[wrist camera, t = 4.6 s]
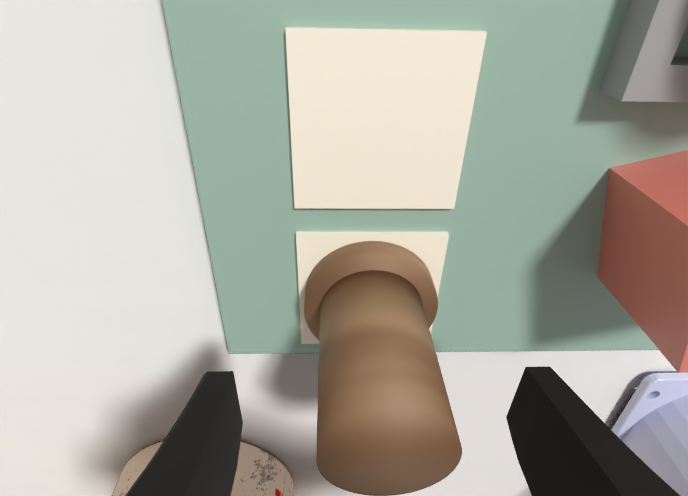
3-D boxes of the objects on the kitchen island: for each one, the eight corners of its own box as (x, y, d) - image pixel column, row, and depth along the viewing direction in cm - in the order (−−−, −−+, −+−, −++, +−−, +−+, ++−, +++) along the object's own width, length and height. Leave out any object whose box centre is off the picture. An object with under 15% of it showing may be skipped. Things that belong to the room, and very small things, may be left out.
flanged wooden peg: (424, 339, 15) (465, 503, 11) (306, 339, 15) (297, 507, 11) (441, 241, 13) (505, 398, 8) (303, 240, 13) (289, 401, 8)
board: (688, 334, 17) (722, 370, 16) (232, 337, 16) (223, 375, 15) (1206, -456, 7) (1444, -568, 5) (80, -527, 6) (4, -676, 5)
